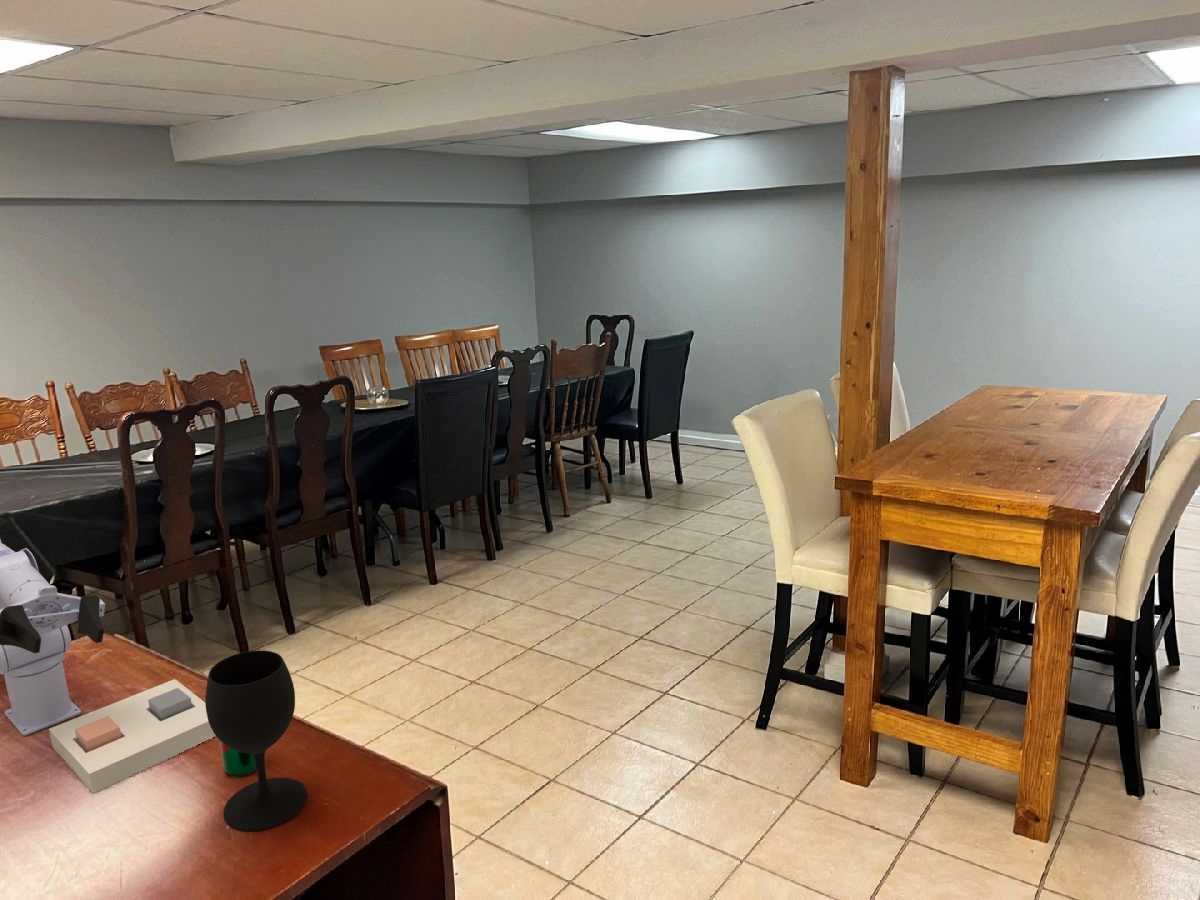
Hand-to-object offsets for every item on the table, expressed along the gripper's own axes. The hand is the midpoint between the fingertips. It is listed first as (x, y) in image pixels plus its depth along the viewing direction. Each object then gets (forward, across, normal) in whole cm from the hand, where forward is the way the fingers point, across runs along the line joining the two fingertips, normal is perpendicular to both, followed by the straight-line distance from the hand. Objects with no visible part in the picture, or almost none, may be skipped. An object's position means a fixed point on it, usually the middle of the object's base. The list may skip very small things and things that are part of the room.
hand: (69, 640), depth 117 cm
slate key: (+1, +15, +14) cm, 20 cm away
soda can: (+19, +17, +14) cm, 29 cm away
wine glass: (+29, +14, +12) cm, 35 cm away
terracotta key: (+1, +5, +16) cm, 17 cm away
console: (+1, +11, +18) cm, 21 cm away
